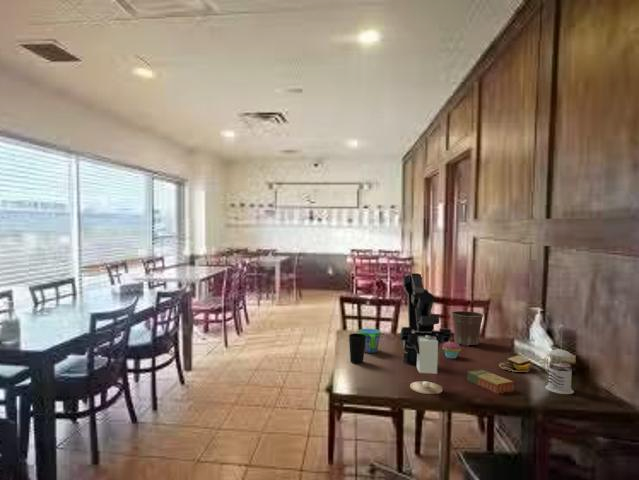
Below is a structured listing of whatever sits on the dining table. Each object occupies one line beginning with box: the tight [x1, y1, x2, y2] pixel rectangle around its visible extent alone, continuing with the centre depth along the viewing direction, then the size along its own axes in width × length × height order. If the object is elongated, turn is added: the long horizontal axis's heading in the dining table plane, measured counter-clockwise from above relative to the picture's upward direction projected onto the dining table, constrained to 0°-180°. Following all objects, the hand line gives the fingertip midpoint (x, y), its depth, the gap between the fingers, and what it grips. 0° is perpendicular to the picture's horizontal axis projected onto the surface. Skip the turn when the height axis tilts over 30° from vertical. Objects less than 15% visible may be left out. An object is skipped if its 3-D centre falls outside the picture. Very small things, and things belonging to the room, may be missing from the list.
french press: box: [543, 324, 575, 395], centre depth 173 cm, size 10×12×25 cm
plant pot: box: [451, 310, 484, 347], centre depth 240 cm, size 16×16×16 cm
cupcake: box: [441, 339, 462, 359], centre depth 213 cm, size 9×8×12 cm
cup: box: [348, 333, 366, 365], centre depth 201 cm, size 8×8×12 cm
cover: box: [416, 335, 439, 375], centre depth 170 cm, size 6×6×13 cm
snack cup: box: [358, 328, 382, 354], centre depth 219 cm, size 16×10×10 cm
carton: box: [466, 369, 515, 395], centre depth 175 cm, size 8×16×4 cm, turn 23°
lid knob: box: [423, 381, 430, 388], centre depth 170 cm, size 3×3×2 cm
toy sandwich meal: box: [498, 355, 531, 373], centre depth 197 cm, size 12×14×5 cm
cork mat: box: [409, 380, 444, 395], centre depth 170 cm, size 12×12×1 cm
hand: (427, 354), depth 168 cm, fingers closed on cover, 6 cm apart
